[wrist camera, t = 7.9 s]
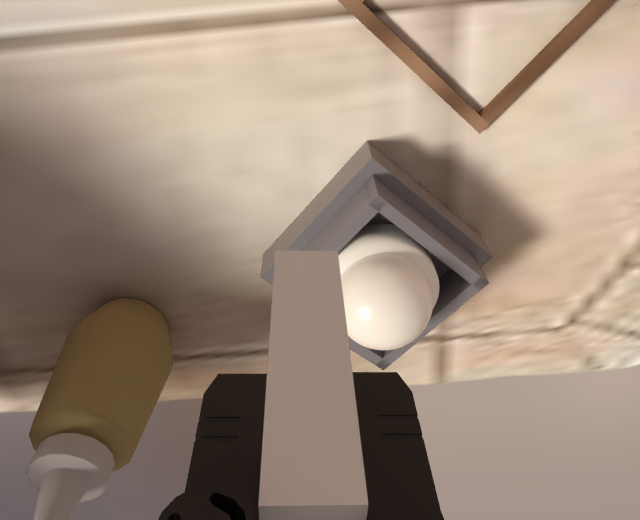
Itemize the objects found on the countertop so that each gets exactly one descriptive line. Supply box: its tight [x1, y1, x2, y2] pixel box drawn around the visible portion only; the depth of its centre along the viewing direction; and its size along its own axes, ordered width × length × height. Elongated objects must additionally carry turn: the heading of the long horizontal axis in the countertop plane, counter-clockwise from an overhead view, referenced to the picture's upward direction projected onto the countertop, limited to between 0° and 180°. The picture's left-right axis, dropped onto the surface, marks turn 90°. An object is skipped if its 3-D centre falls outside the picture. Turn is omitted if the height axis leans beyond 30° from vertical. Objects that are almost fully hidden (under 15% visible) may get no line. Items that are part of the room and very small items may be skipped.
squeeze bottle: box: [27, 298, 173, 520], centre depth 36 cm, size 8×8×18 cm
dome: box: [338, 224, 439, 350], centre depth 34 cm, size 8×8×6 cm
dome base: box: [261, 141, 492, 370], centre depth 38 cm, size 12×12×6 cm
